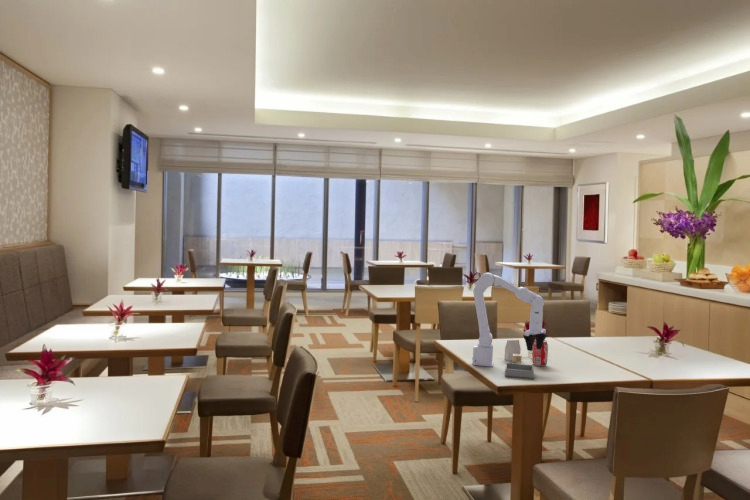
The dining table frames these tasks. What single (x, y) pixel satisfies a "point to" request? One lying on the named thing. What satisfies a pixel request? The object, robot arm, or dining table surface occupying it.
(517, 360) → the oak block
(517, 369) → the bin
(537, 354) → the soda can
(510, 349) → the pale grey box
